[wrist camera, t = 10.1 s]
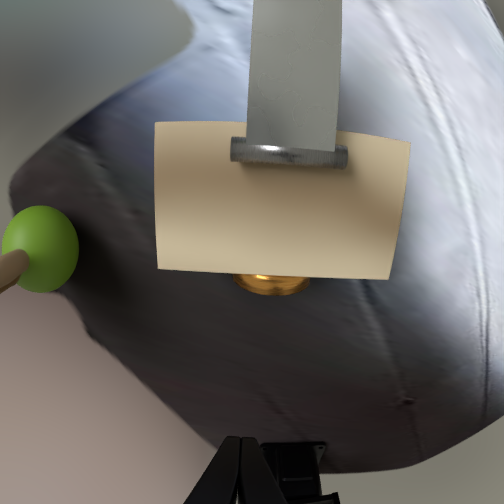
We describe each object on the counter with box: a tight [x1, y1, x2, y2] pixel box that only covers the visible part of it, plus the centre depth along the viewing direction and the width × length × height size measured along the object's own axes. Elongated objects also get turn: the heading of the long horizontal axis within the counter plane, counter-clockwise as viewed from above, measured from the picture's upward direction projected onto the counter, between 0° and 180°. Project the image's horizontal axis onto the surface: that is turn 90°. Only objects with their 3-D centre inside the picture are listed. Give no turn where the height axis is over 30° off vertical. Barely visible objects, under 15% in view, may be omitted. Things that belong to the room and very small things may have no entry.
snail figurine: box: [0, 206, 79, 294], centre depth 13 cm, size 5×6×12 cm
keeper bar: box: [230, 0, 348, 170], centre depth 9 cm, size 9×4×1 cm, turn 177°
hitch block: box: [154, 121, 411, 280], centre depth 15 cm, size 6×10×6 cm, turn 87°
